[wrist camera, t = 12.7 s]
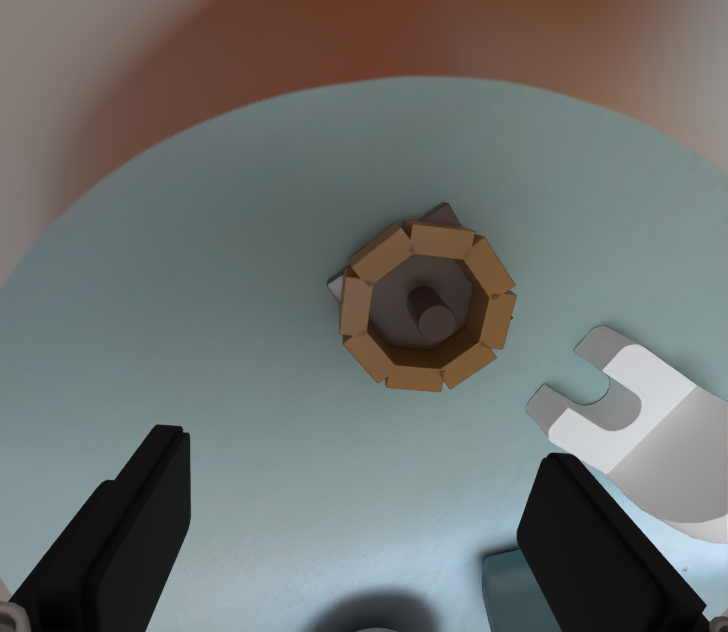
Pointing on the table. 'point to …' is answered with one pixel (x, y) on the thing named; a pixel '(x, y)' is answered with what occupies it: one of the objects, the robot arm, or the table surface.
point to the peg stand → (419, 296)
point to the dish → (376, 630)
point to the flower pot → (514, 596)
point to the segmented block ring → (458, 351)
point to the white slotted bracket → (647, 435)
